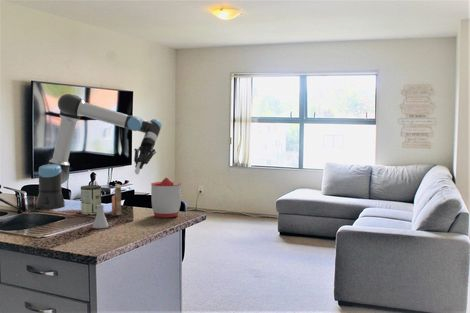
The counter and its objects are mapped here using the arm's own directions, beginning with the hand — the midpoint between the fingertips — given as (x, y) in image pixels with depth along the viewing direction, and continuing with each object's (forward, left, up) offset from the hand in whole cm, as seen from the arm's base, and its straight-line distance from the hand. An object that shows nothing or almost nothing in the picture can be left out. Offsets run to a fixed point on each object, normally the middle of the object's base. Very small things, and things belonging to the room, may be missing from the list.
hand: (136, 172), depth 254 cm
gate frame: (+1, -14, -20) cm, 25 cm away
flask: (+25, -38, -21) cm, 50 cm away
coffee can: (-8, -23, -21) cm, 32 cm away
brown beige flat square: (+5, -15, -19) cm, 25 cm away
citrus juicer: (+26, 0, -21) cm, 33 cm away
